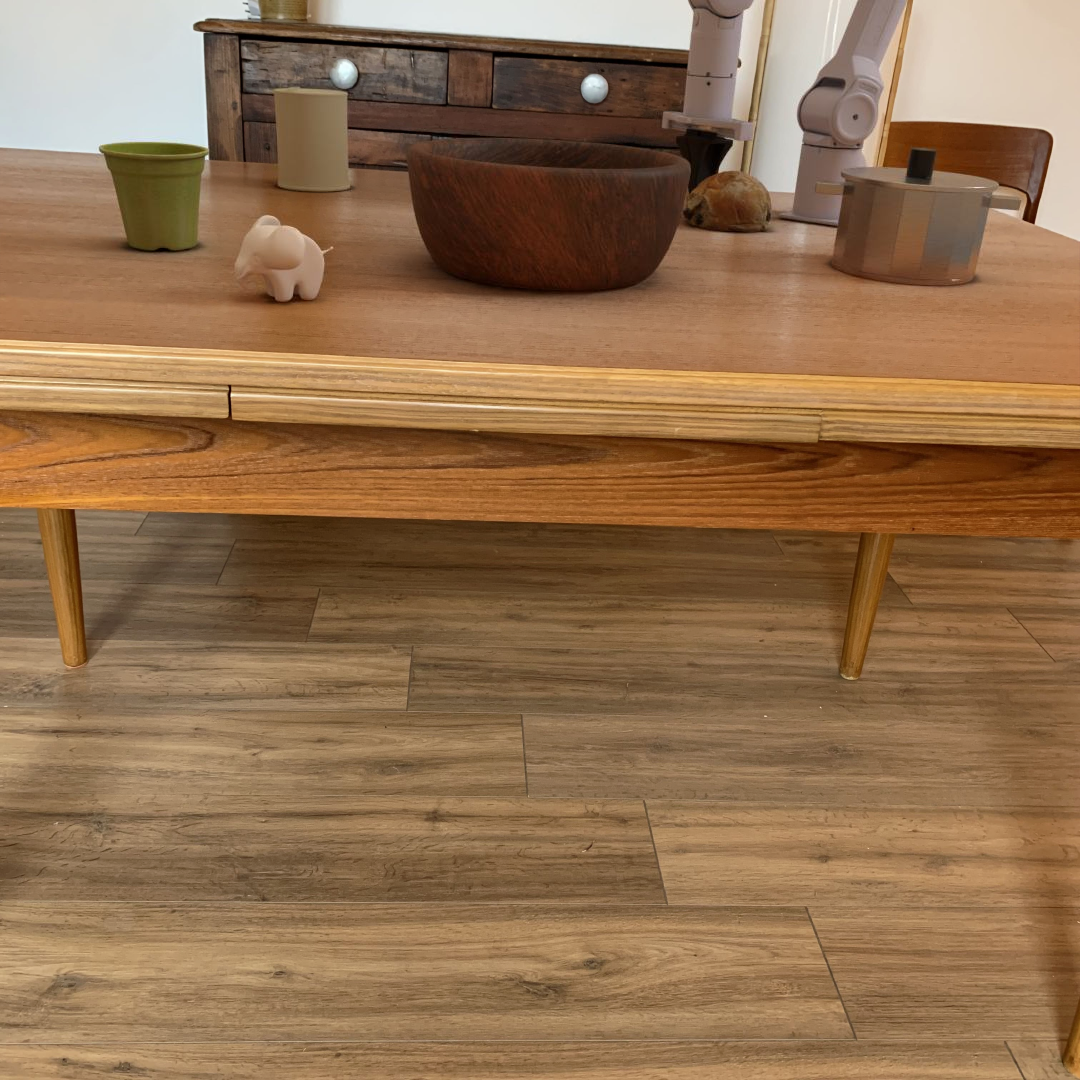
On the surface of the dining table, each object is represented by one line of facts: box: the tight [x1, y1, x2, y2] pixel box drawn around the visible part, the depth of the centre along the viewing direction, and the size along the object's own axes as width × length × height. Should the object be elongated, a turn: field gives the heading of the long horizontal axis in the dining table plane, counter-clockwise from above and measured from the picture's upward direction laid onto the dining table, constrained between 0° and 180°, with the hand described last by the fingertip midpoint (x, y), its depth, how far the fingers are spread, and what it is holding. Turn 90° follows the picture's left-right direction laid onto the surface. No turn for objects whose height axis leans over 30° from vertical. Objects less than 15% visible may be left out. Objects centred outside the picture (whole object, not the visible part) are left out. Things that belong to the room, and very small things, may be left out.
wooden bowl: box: [406, 137, 691, 291], centre depth 98 cm, size 25×25×10 cm
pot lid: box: [841, 147, 1000, 193], centre depth 105 cm, size 15×15×4 cm
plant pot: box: [98, 141, 210, 252], centre depth 100 cm, size 9×9×9 cm
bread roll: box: [682, 170, 773, 233], centre depth 128 cm, size 10×10×8 cm
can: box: [273, 86, 351, 193], centre depth 139 cm, size 9×9×12 cm
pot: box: [815, 179, 1022, 286], centre depth 107 cm, size 14×19×8 cm
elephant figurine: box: [230, 214, 334, 303], centre depth 84 cm, size 7×8×6 cm
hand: (698, 197), depth 133 cm, fingers closed
